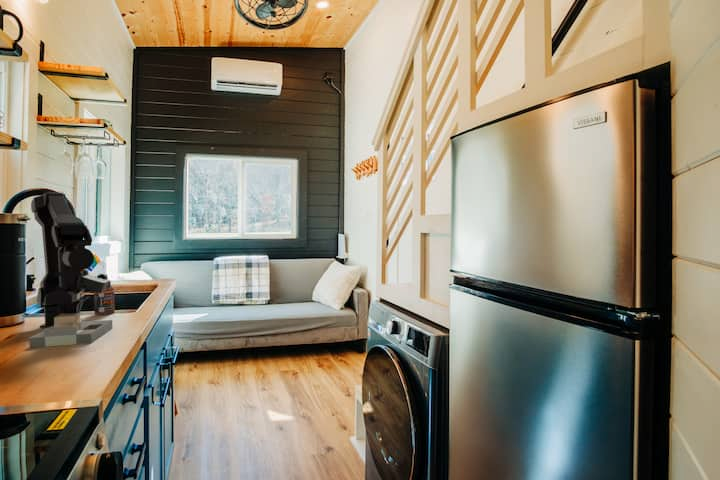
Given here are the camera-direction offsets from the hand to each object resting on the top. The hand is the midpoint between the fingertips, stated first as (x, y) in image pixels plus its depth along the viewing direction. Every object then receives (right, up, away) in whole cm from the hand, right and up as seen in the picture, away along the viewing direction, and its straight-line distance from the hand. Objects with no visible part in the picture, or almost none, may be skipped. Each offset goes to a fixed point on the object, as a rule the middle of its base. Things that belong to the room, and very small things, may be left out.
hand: (74, 323), depth 117 cm
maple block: (+1, -1, -4) cm, 4 cm away
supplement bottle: (-10, -3, +30) cm, 32 cm away
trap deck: (0, -4, 0) cm, 4 cm away
